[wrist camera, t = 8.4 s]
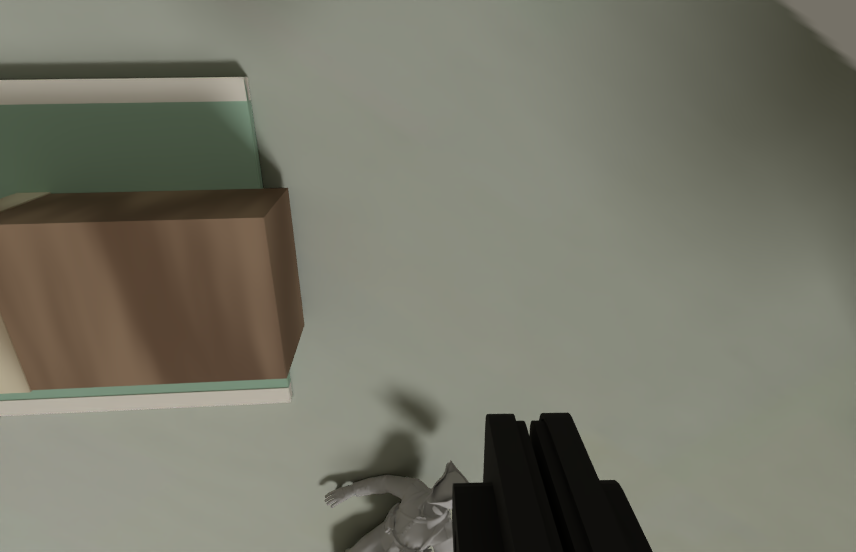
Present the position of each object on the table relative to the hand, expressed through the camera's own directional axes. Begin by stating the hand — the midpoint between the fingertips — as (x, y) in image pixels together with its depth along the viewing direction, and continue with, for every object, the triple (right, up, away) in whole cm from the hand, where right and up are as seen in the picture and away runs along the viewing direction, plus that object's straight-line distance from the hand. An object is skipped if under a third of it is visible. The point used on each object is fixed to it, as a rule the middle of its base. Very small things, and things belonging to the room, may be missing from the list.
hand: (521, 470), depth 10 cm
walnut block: (-7, +4, +8) cm, 12 cm away
